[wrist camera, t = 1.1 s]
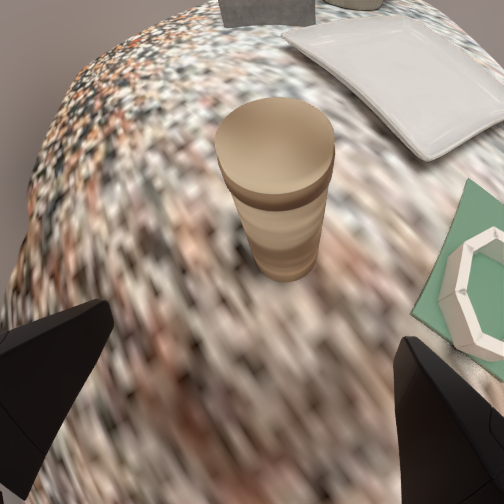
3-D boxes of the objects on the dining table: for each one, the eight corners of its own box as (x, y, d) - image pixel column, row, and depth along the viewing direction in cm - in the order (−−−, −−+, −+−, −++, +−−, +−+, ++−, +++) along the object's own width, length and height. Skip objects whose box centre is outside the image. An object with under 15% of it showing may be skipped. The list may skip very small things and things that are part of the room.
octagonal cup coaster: (521, 389, 15) (544, 388, 12) (400, 342, 19) (417, 337, 16) (540, 226, 20) (557, 211, 17) (441, 168, 24) (453, 146, 21)
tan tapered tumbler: (302, 294, 22) (310, 202, 10) (241, 267, 23) (189, 161, 12) (327, 236, 23) (350, 113, 12) (270, 214, 25) (247, 88, 13)
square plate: (278, 52, 35) (276, 31, 32) (403, 29, 37) (406, 13, 33) (416, 182, 25) (429, 158, 21) (518, 124, 26) (528, 107, 23)
